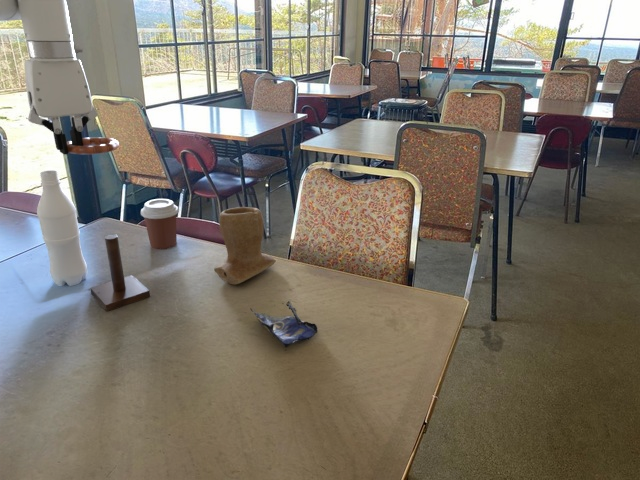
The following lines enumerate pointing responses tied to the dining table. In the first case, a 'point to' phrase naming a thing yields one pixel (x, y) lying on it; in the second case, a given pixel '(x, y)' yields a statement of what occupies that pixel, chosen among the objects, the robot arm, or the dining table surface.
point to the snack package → (287, 327)
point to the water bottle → (60, 232)
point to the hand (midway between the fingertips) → (70, 151)
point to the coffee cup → (160, 222)
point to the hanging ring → (101, 146)
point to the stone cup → (242, 244)
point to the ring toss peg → (118, 281)
